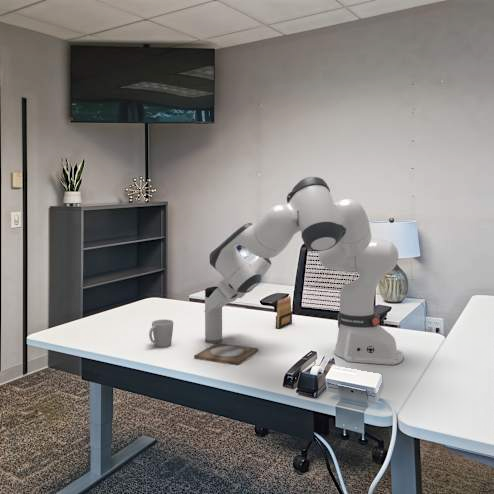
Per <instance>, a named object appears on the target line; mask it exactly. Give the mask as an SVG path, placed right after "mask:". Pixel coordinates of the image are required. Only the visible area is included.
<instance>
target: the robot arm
mask: <svg viewBox="0 0 494 494" xmlns="http://www.w3.org/2000/svg"><path fill="white" fill-rule="evenodd" d="M332 197H333V196H332V194H331V189H330V188H329V185H328V184H327V182H326V180H324V179H323V178H321V177H318V176H310V177H305V178H303V179H302V180H299V181H298V183H296V184H295V186H294V187H293V188H292V189H291V191H290V192H288V194H287V196H286V203H285V204H276V205H274V206H272V207H270V208H269V209H268V210H267V211H266V212H265V213H264V214H263V215H262V216H261V217H260V218H259V220H258V221H257V222H256V223H251V222H247V223H246V224H243V225H242V226H240V227H239V228H237V229H236V230H235V231H234V232H233V233H232V234H231V235H229V236H228V237H227V238H226V239H225V240H224V241H223V242H222V243H219V244H218V245H217V246H216V247H214V248H213V249H212V250H211V252H210V253H209V264H210V266H211V267H212V268H214V269H215V270H216V271H217V272H218V273H219V274H220V275H221V276H222V277H223V280H221V281H220V282H219V283H218V284H217V286H218V288H217V289H216V290H215V291H214V292H213V293H212V294H211V295H210V297H209V298H208V299H207V300H206V303H205V302H204V305H205V304H206V305H207V308H206V310H205V309H204V314H205V313H206V314H209V313H210V312H211V311H212V310H214V309H216V308H218V307H221V306H222V308H223V307H225V306H226V305H228V304H230V303H232V302H235V301H236V300H238V299H242V298H244V296H245V295H246V294H247V293H251V292H252V290H254V289H255V288H256V287H257V286H258V285H259V284H260V283H261V281H262V278H263V277H264V276H265V275H266V274H267V272H268V271H269V269H270V268H271V266H272V260H271V259H272V258H275V257H276V256H279V254H281V253H282V252H283V250H285V249H286V247H287V246H288V245H289V243H290V242H291V240H292V239H293V237H294V235H296V234H297V233H299V232H300V233H301V239H302V241H303V243H304V246H306V248H308V249H309V250H312V251H315V252H318V258H319V262H320V264H321V265H322V267H323V268H325V269H328V270H331V271H336V272H337V271H338V272H351V273H353V272H354V273H356V272H357V273H358V275H359V276H358V278H357V279H355V280H352V281H350V282H347V283H346V284H343V286H342V287H341V288H340V292H339V311H338V313H337V314H338V315H337V328H338V331H337V337H336V338H337V340H336V343H335V347H334V350H333V352H334V355H335V356H337V357H340V358H342V359H344V360H345V361H346V362H349V363H360V364H361V363H362V364H376V365H387V366H388V365H392V366H395V364H396V365H399V364H400V363H402V362H403V360H404V353H403V352H402V351H401V350H400V349H397V348H398V347H397V342H396V339H395V337H394V336H393V335H392V334H391V333H389V332H388V331H387V330H386V329H385V328H384V327H382V326H381V325H380V322H381V321H380V320H381V319H380V315H379V314H378V315H377V314H376V313H375V312H374V305H375V304H374V303H375V297H376V296H375V294H376V290H377V287H378V285H379V284H380V281H381V280H382V279H383V278H384V277H385V276H386V275H387V274H388V273H390V272H392V271H393V270H394V268H395V267H396V266H397V264H398V261H399V251H398V248H397V246H396V245H395V244H394V243H393V242H391V241H388V240H383V239H380V238H378V239H376V238H373V239H372V232H371V226H370V221H369V218H368V214H367V213H366V210H365V209H364V207H363V206H362V204H361V203H360V202H359V201H357V200H356V199H353V198H343V199H340V200H338V201H337V202H335V203H334V200H333V198H332ZM238 246H241V247H243V248H245V249H246V250H247V251H249V252H250V254H248V256H247V257H246V258H245V257H244V255H242V254H241V253H240V252H239V250H238V248H237V247H238ZM270 258H271V259H270ZM401 361H402V362H401ZM398 363H399V364H398Z"/></svg>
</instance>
